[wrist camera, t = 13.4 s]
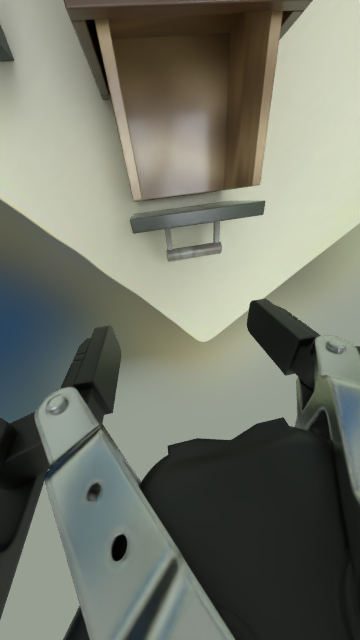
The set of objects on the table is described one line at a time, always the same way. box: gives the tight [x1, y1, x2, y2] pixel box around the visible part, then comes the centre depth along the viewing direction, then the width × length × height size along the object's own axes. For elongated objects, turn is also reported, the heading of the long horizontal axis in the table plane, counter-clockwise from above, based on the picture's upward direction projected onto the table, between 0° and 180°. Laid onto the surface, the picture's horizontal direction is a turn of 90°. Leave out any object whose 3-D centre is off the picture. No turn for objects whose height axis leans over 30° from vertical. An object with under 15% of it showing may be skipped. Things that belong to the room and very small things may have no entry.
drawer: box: [94, 11, 283, 262], centre depth 17 cm, size 19×13×8 cm
